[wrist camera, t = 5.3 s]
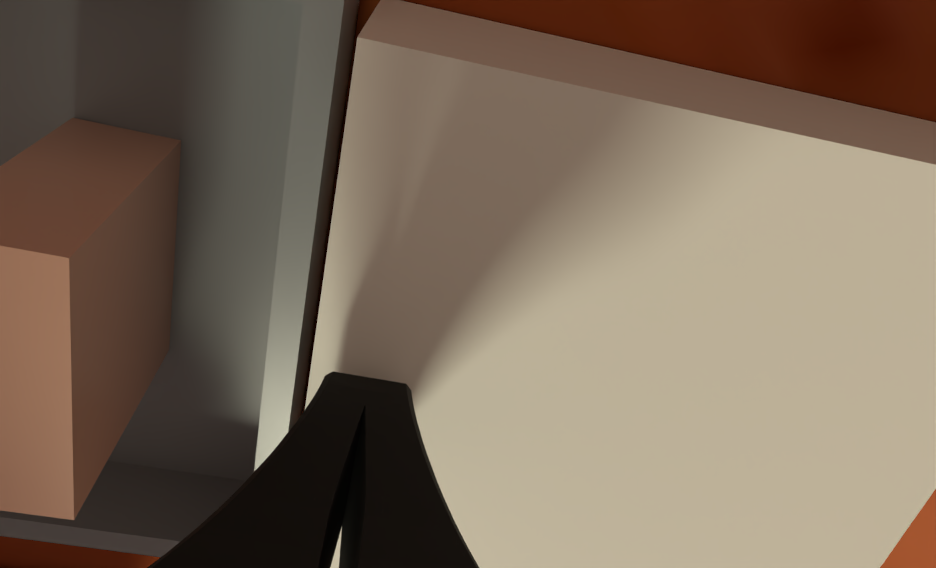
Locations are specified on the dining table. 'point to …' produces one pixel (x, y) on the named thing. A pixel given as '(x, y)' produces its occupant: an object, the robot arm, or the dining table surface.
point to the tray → (198, 226)
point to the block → (80, 304)
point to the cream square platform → (636, 299)
